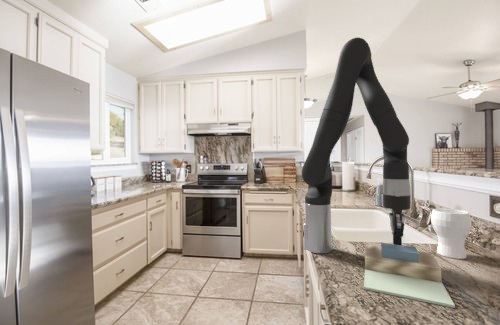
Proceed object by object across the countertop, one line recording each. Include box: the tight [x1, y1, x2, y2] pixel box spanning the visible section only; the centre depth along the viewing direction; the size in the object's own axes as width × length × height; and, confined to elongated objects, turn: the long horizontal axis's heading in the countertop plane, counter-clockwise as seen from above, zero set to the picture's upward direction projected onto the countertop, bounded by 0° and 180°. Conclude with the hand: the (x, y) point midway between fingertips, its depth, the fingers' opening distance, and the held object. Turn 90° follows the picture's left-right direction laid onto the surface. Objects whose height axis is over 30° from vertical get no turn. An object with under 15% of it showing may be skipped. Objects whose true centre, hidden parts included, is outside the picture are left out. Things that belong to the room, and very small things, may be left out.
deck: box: [364, 244, 442, 283], centre depth 71 cm, size 18×12×4 cm, turn 62°
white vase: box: [430, 208, 472, 260], centre depth 81 cm, size 11×11×15 cm
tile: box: [380, 242, 419, 263], centre depth 70 cm, size 9×6×2 cm, turn 62°
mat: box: [363, 268, 456, 309], centre depth 60 cm, size 18×11×1 cm, turn 62°
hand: (397, 247), depth 75 cm, fingers closed
